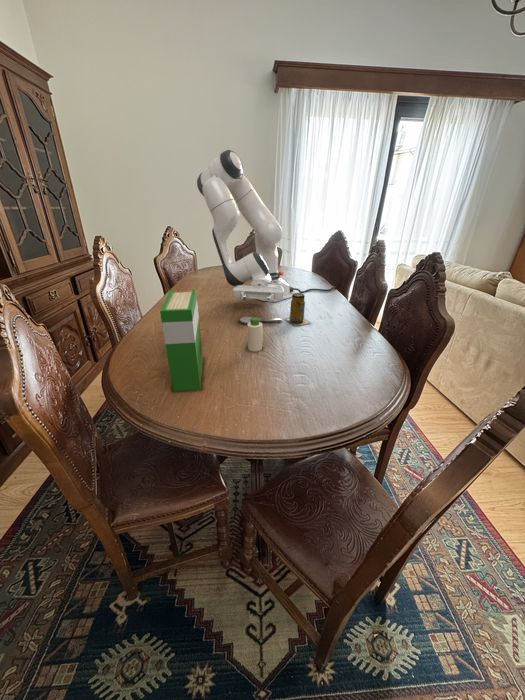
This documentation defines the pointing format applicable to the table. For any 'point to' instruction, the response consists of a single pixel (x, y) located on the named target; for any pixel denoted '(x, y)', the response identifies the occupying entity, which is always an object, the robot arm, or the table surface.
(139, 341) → the table surface
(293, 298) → the condiment
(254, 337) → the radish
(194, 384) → the hardback book
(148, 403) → the table surface
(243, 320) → the spoon
